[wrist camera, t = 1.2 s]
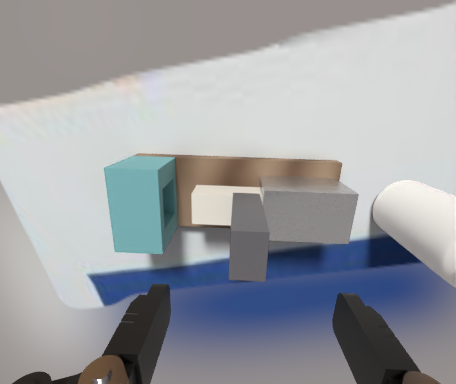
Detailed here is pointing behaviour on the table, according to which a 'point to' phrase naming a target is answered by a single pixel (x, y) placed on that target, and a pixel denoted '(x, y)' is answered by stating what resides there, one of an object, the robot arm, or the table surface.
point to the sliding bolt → (236, 225)
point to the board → (236, 175)
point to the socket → (142, 203)
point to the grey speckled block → (308, 209)
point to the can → (421, 223)
